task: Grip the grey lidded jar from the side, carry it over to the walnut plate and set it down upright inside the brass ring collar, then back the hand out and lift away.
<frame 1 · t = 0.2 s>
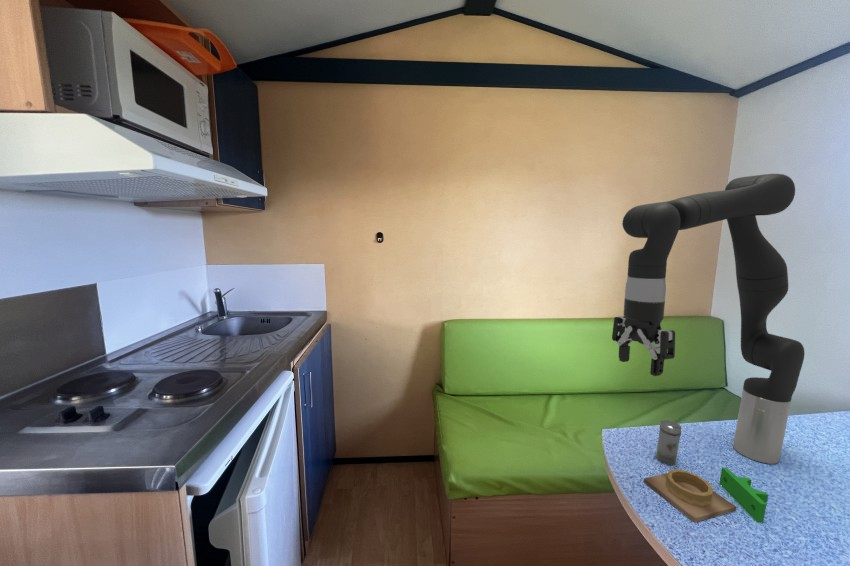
hand: (638, 367, 79), 29 cm above the table, tool pointing down, fingers open, 8 cm apart
green bracket: (745, 504, 78), on the table
ring seat: (687, 495, 79), on the table
grey lidded jar: (665, 459, 92), on the table
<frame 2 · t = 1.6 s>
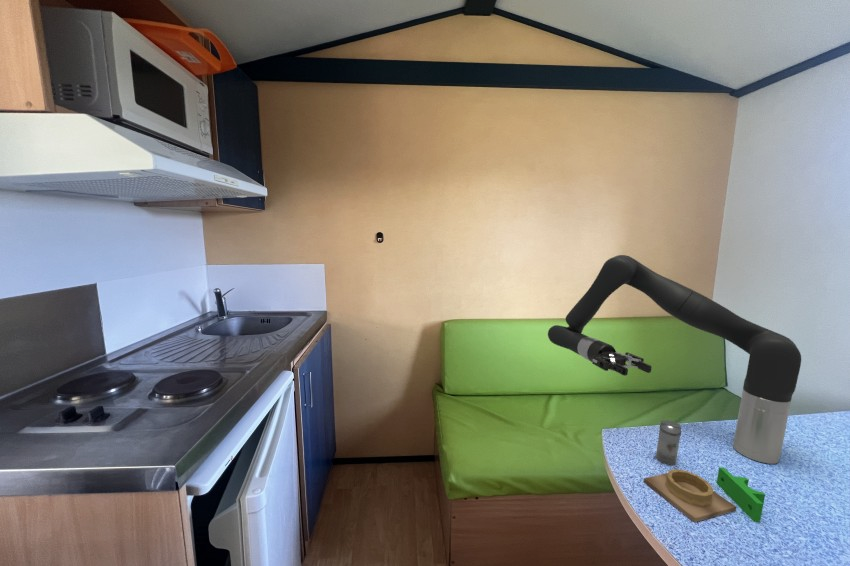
hand: (638, 371, 99), 20 cm above the table, tool horizontal, fingers open, 8 cm apart
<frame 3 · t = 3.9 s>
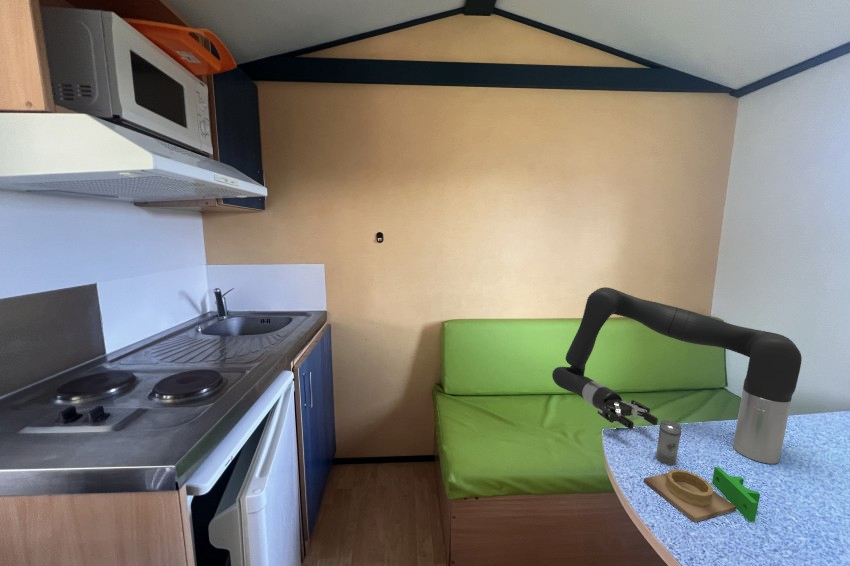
hand: (644, 424, 97), 6 cm above the table, tool horizontal, fingers open, 8 cm apart
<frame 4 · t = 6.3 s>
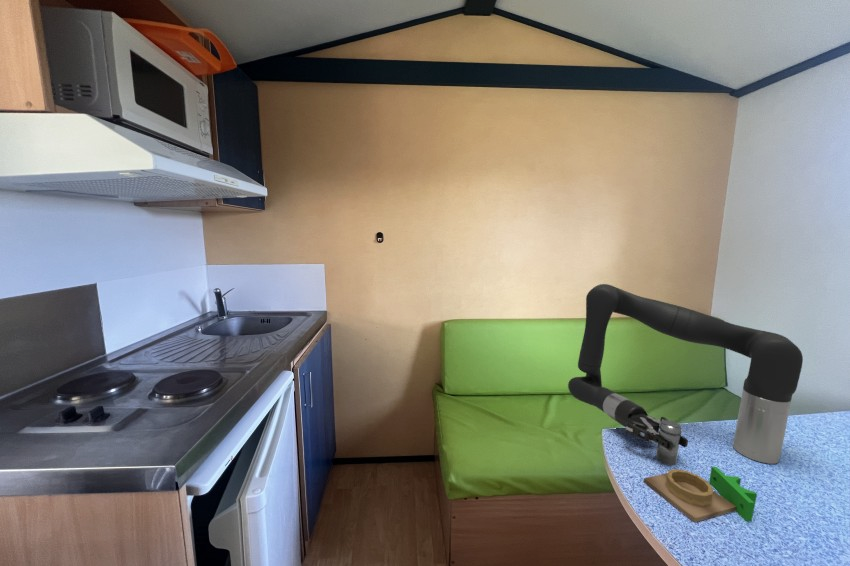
hand: (678, 445, 88), 6 cm above the table, tool horizontal, fingers closed on grey lidded jar, 4 cm apart
grey lidded jar: (665, 459, 92), on the table, touching gripper
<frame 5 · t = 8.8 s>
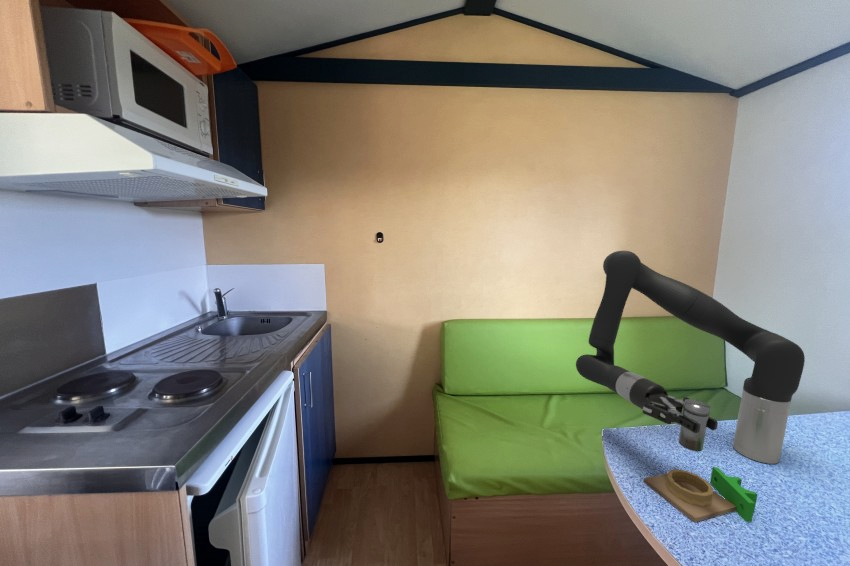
hand: (707, 427, 75), 18 cm above the table, tool horizontal, fingers closed on grey lidded jar, 4 cm apart
grey lidded jar: (690, 445, 78), point 12 cm above the table, touching gripper
when the fingers open (9 cm above the table, at t = 11.4 s): grey lidded jar drops 2 cm, resting on ring seat.
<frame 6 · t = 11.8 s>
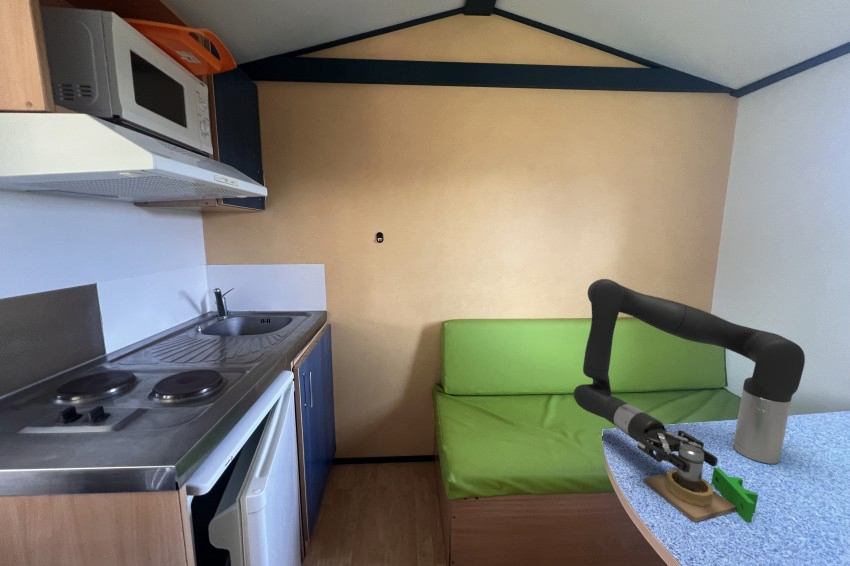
hand: (702, 465, 76), 9 cm above the table, tool horizontal, fingers open, 7 cm apart
grey lidded jar: (687, 491, 79), point 1 cm above the table, touching ring seat
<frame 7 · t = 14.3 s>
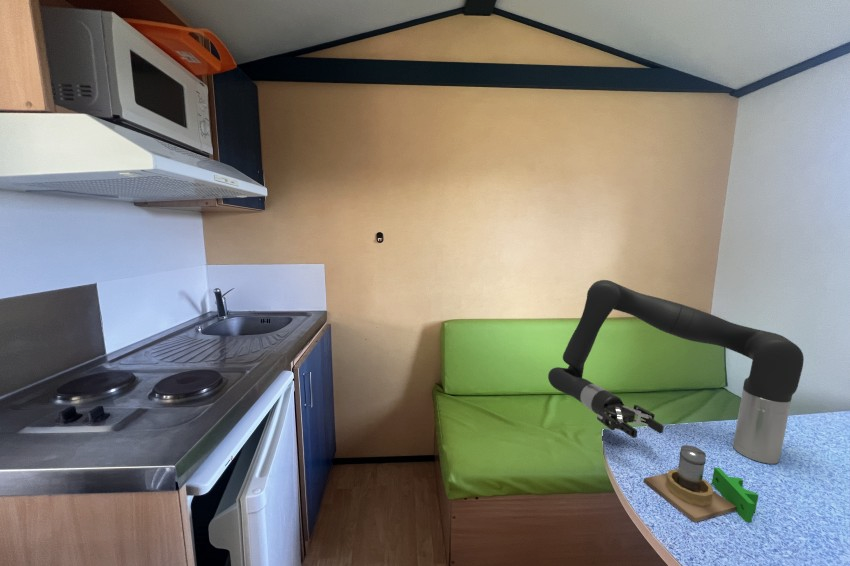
hand: (649, 432, 88), 9 cm above the table, tool horizontal, fingers open, 8 cm apart
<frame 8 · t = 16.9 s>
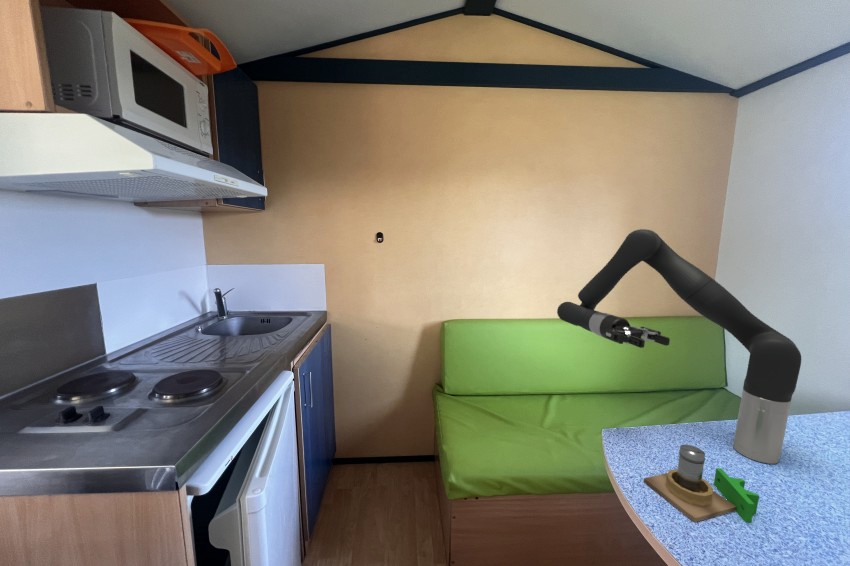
hand: (656, 343, 92), 30 cm above the table, tool horizontal, fingers open, 8 cm apart
at the end: grey lidded jar 0.1 cm off-centre on the ring seat, point 1.1 cm above the ring seat's base; grey lidded jar tilted 2°; the gripper is holding nothing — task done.
